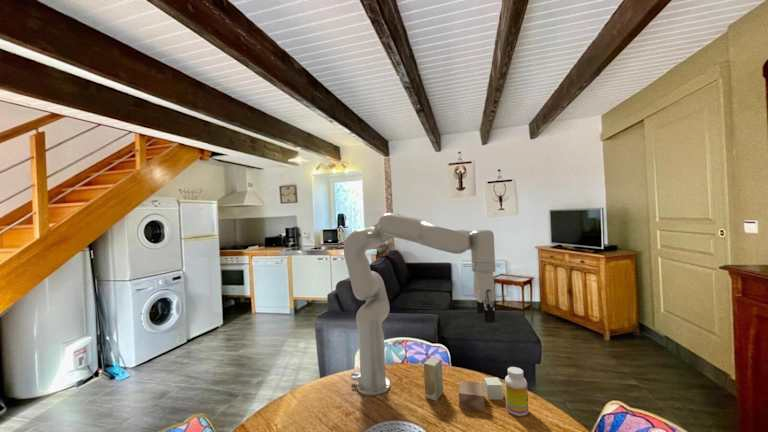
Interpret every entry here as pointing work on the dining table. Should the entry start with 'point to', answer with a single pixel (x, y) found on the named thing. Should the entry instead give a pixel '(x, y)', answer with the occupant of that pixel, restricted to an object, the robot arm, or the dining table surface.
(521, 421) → the dining table surface
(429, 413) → the dining table surface
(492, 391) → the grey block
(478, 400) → the walnut block
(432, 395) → the skincare box
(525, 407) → the supplement bottle
